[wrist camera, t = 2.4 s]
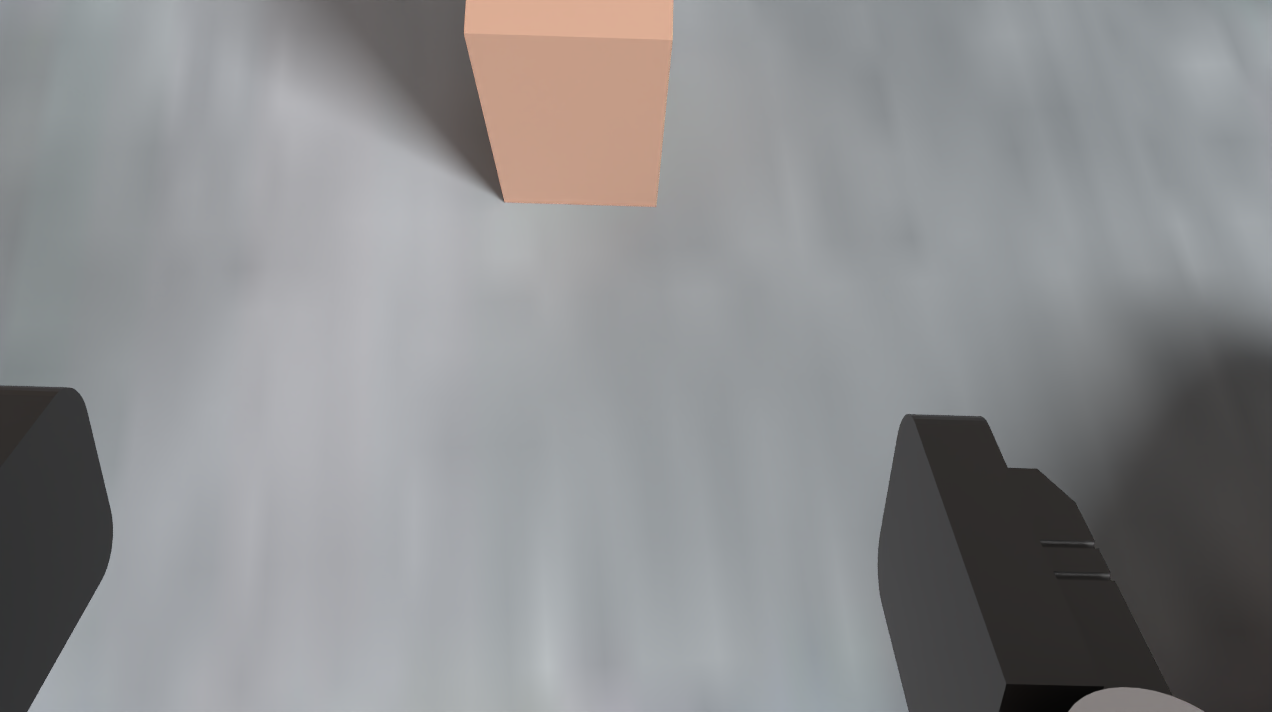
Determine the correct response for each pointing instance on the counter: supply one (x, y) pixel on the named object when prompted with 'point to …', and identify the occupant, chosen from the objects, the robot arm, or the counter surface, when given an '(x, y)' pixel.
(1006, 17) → the counter surface
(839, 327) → the counter surface
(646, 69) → the peg
